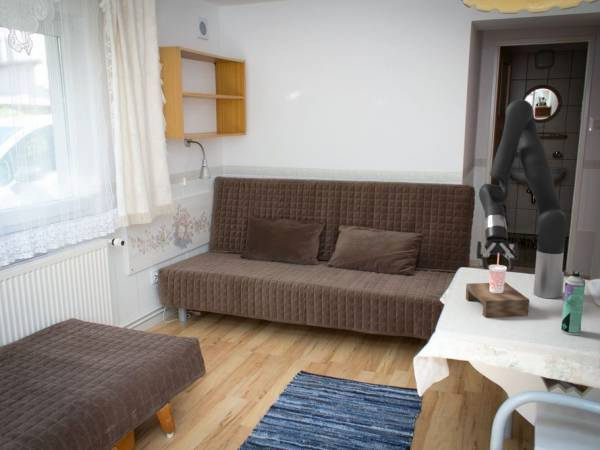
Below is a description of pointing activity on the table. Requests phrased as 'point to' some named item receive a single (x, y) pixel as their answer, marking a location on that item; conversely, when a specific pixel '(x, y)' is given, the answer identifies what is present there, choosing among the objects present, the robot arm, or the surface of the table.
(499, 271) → the beverage cup
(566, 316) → the spray can
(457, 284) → the table surface
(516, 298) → the walnut shelf stand
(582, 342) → the table surface
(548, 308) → the table surface
